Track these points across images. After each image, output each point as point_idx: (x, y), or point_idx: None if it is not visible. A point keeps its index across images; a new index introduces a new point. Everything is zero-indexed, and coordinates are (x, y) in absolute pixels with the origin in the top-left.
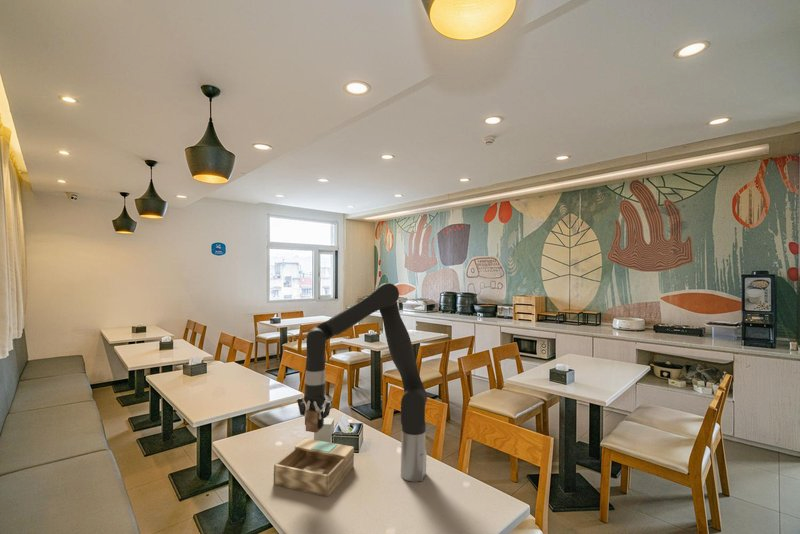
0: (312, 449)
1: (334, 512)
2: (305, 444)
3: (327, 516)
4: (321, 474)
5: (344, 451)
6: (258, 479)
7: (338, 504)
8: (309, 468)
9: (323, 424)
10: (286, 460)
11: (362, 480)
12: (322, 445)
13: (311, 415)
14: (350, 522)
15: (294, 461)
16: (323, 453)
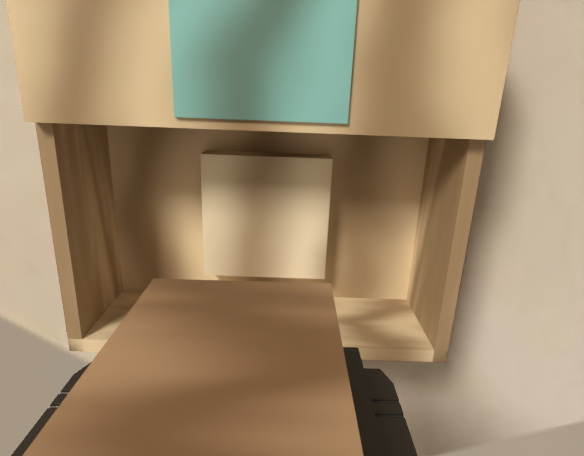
0: (190, 119)
1: (477, 377)
2: (78, 53)
3: (457, 402)
4: (399, 356)
5: (466, 64)
6: (16, 279)
7: (478, 333)
8: (230, 175)
9: (393, 393)
10: (81, 240)
11: (549, 124)
12: (236, 27)
13: None
14: (554, 406)
15: (93, 136)
16: (298, 130)
